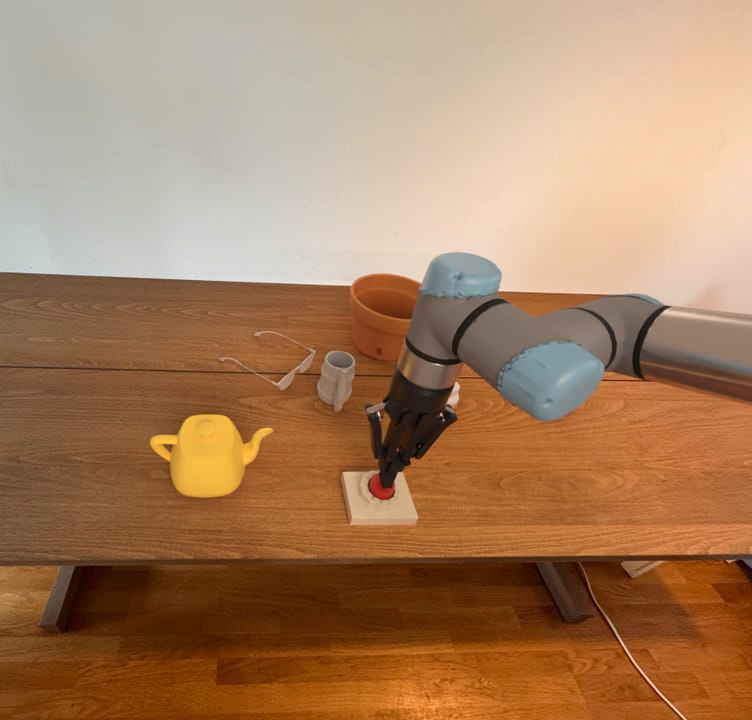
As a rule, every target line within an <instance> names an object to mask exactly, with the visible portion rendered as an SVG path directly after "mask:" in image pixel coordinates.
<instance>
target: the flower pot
mask: <svg viewBox="0 0 752 720" xmlns="http://www.w3.org/2000/svg"><path fill="white" fill-rule="evenodd" d="M421 284H422V282H419V281H417V280H415V279H412V278H409V277H407V276H403V275H400V274H393V273H371V274H366V275H363V276H361V277H358V278H357V279H355V280H354V281H353V282H352V284H351V286H350V288H349V289H350V290H349V298H348V308H349V311H350V312H351V327H352V341H353V345H354V346H355V347H356V349H358V351H360V352H361V353H362V354H364V355H365V356H367V357H369V358H372V359H373V360H374V359H375V360H379V361H385V362H390V361H391V362H392V361H398V359H399V356H400V352H401V349H402V346H403V343H404V340H405V337H406V334H407V331H408V328H409V325H410V321H411V318H412V315H413V311H414V308H415V304H416V300H417V296H418V293H419V292H418V290H419V287H420V286H421Z"/></svg>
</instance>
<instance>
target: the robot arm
mask: <svg viewBox="0 0 752 720" xmlns="http://www.w3.org/2000/svg"><path fill="white" fill-rule="evenodd" d="M502 278H503V274H502V271H501V269H500V268H498V265H497V264H496V263H494V262H493V261H492V260H490V259H489V258H486V257H484V256H481V255H478V254H473V253H470V252H464V251H463V252H461V251H451V252H446V253H441V254H438V255H437V256H435V257H433V258H432V260H431V261H430V263H429V265H428V267H427V269H426V272H425V274H424V276H423V279H422V282H421V286H420V287H419V290H418V292H419V293H418V296H417V300H416V304H415V308H414V311H413V315H412V318H411V321H410V325H409V328H408V331H407V334H406V337H405V340H404V343H403V346H402V349H401V352H400V356H399V359H398V360H397V364H396V366H395V368H394V371H393V374H392V378H391V381H390V385H389V389H388V393H387V394H386V395H385V396H384V397H383V399H382V402H381V403H379V404H375V405H373V404H372V403H366V404H365V405H364V410H365V414H366V417H367V420H368V423H369V436H370V447H371V451H372V454H373V458H374V460H377V465H378V469H379V470H378V471H380V472H379V478H380V481H381V485H382V488H392V486H393V484H394V481H395V479H396V476H397V474H398V472H404V470H405V468H406V467H410V466H411V465H412V462H411V459H413V458H414V460H421V459H422V458H423V457H424V456H425V455H426V453H428V451H429V450H430V449H431V448H432V447H433V445H434V444H435V443H436V441H437V440H438V439H439V438H440V436H441V435H442V434H443V433H444V431H445V430H446V429H447V428H449V427H450V426H452V425H453V424H454V423H455V422H457V421H458V419H459V418H458V416H457V414H456V412H455V409H454V410H453V408H452V406H451V405H450V404H447V401H448V399H449V397H450V395H451V392H452V390H453V388H454V385H455V383H456V382H458V380H459V377H460V375H461V373H462V371H463V368H464V365H466V366H467V367H468V368H470V370H472V371H473V372H474V373H475V374H476V375H478V376H479V377H480V378H481V379H482V380H483V381H484V382H486V383H487V384H488V385H490V386H491V387H492V388H493V389H494V390H496V391H497V392H498V393H499V395H500V396H501V397H502V398H503V399H504V400H505V401H508V402H509V403H511V404H512V403H514V404H515V405H517V406H516V407H518V408H519V409H521V410H522V411H523V412H524V413H526V414H527V415H529V416H530V417H531V418H532V419H534V420H536V421H539V422H553V421H558V420H560V419H562V418H565V417H564V416H566V415H567V414H568V413H569V412H570V411H572V410H573V409H574V410H576V409H578V408H579V407H581V406H582V405H583V404H584V403H585V402H587V400H588V399H589V398H590V397H591V396H592V395H593V394H594V393H595V392H596V390H597V389H598V387H599V386H600V384H601V383H602V381H603V378H604V376H605V373H615V374H618V375H622V376H626V377H631V378H635V379H639V380H643V381H648V382H653V383H657V384H661V385H666V386H668V387H674V388H677V389H681V390H685V391H689V392H692V393H696V394H702V395H706V396H709V397H714V398H718V399H720V400H721V399H722V400H724V401H725V400H726V401H729V402H733V403H738V404H740V405H741V404H742V405H744V406H749V407H752V314H749V313H740V312H730V311H721V310H713V309H702V308H695V307H694V308H693V307H685V306H677V305H668V304H667V305H666V304H664V303H663V302H661V301H660V300H658V299H657V298H654V297H652V296H650V295H647V294H642V293H634V292H633V293H622V294H610V295H606V296H600V297H599V298H596V299H594V300H590V301H587V302H584V303H581V304H577V305H573V306H569V307H565V308H562V309H558V310H554V311H550V312H548V313H547V312H546V313H543V314H540V315H535V316H532V315H531V314H529V313H527V312H525V311H524V310H523V309H521V308H519V307H517V306H516V305H514V304H512V303H510V302H509V301H507V299H505V298H503V297H501V296H500V295H498V293H499V290H500V288H501V286H500V284H501V282H502ZM384 414H387V416H388V417H389V419H390V421H389V423H388V426H387V429H386V433H385V435H384V439H383V429H382V424H381V423H382V422H383V421H384V417H385V415H384Z"/></svg>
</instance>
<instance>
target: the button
mask: <svg viewBox="0 0 752 720" xmlns="http://www.w3.org/2000/svg"><path fill="white" fill-rule="evenodd" d="M394 489H395V483H394V484H393V486H392V488H382V485H381V481H380V478H379V473H377V474H375V475H373V476H372V478H371V481H370V484H369V490H370V492H371V493H372V495H373V496H375V497H376V498H379V499H388V498H390V497H391V496H392V494H393V492H394Z"/></svg>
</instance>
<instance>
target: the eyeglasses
mask: <svg viewBox="0 0 752 720" xmlns="http://www.w3.org/2000/svg"><path fill="white" fill-rule="evenodd" d="M267 333H272V334H276V335H279V336H281V337H284V338H286V339H287V340H290V341H292V342H293V343H296V344H298V345H300V346H301V347H304V348H306V349H307V350H309V351H310V352H311V354H310V355H308V356H307V357H306V358H305V359H304V360H303V361H302V362H301V363H300V364H299V365H298V366H297V367H295V368H294V369H293V370H291V371H290V372H288V373H287V374H286V375H285V376H283V378H281V380H280V381H278V382H276V381H271V380H270V379H268V378H266V377H264V376H262V375H260V374H259V373H256V372H255V371H253V370H252V369H250V368H248V367H247V366H245V365H243V364H242V362H239V361H238V360H237V359H235V358H231V357H228V356H227V357H226V356H221V357H219V358H218V360H219V361H221V362H222V363H223V362H225V361H226V360H232V361H234V362H235V363H237V364H239V365H240V366H242V367H244V368H245V369H247V370H249V371H251V372H252V373H253V374H255V375H258V376H259V377H261V378H263V379H265V380H267V381H268V382H270V383H271V385H274V386H276V387H278V389H279V390H280V391H284V390H286V389H287V388H288V386H290V384H291V383H292V381H293V380H294V377H295V375H296V371H298V370H299V372H300V373H301V374H302V373H305V371H307V370H308V369H309V368H310V366H311V364H312V362H313V361H314V357H315V355H316V353H317V351H316V350H314V349H312V348H308V347H307V346H305V345H303V344H301V343H299V342H297V341H295V340H293V339H291V338H289V337H287V336H284V335H283V334H281V333H278V332H275V331H272V330H271V331H269V330H267V331H266V330H265V331H263V330H262V331H258V332H255V333H253V336H254V337H260V336H261V335H263V334H267Z"/></svg>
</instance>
